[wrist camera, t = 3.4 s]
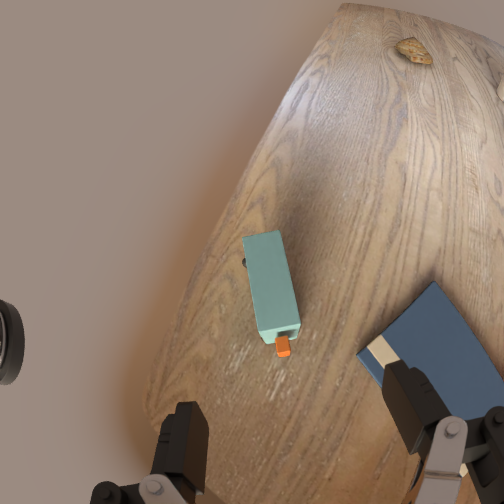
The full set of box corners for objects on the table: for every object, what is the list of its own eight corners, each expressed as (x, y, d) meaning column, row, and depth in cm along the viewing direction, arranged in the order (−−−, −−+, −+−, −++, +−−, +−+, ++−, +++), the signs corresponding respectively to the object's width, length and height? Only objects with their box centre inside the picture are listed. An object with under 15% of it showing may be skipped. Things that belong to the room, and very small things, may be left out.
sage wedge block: (303, 354, 22) (311, 345, 15) (265, 362, 22) (254, 356, 15) (285, 271, 25) (284, 228, 18) (250, 278, 25) (235, 238, 18)
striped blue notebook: (514, 407, 15) (518, 407, 15) (452, 483, 14) (455, 485, 13) (431, 282, 22) (434, 279, 22) (355, 355, 21) (357, 354, 20)
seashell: (397, 52, 36) (396, 27, 36) (393, 68, 42) (392, 44, 42) (438, 65, 35) (434, 39, 34) (430, 80, 40) (428, 54, 40)
